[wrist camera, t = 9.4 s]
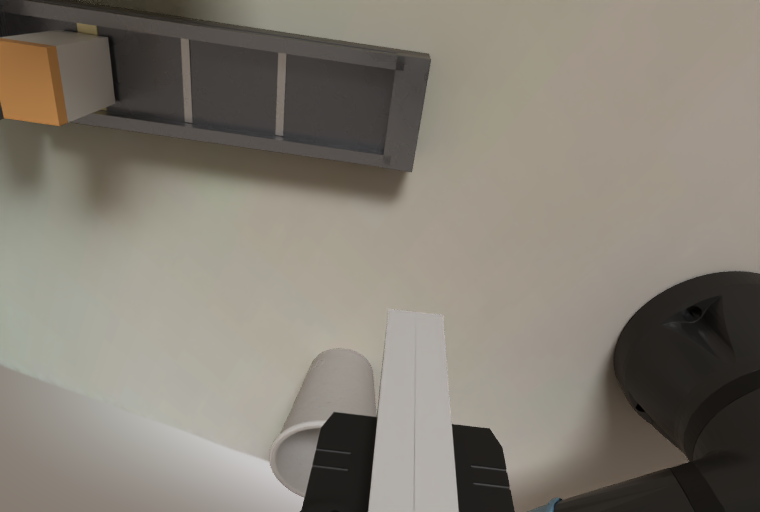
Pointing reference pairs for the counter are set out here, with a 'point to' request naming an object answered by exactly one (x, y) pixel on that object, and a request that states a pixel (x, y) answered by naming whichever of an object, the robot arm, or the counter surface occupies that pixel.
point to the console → (245, 83)
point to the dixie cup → (320, 412)
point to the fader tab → (54, 76)
